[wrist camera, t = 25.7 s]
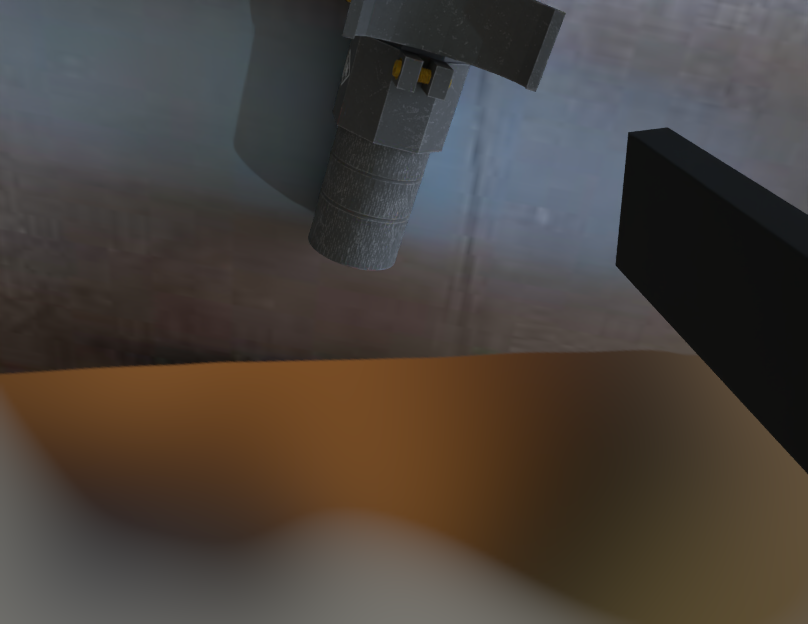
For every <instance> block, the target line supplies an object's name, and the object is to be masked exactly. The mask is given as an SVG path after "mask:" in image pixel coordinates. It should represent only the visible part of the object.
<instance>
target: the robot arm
mask: <svg viewBox="0 0 808 624" xmlns="http://www.w3.org/2000/svg"><path fill="white" fill-rule="evenodd" d="M616 266H617V267H618V268H619V270H620V271H621V272H622V273H623V274H624V275H625V276H626V277H627V278H628V279H629V280H630V282H631V283H632V284H633V285H634V286H635V287H636V288H637V289H638V290H639V291H640V292H641V293H642V295H643V296H644V297H645V298H646V299H647V300H648V301H649V302H650V303H651V304H652V305H653V306H654V308H655V309H656V310H657V311H658V312H659V313H660V314H661V315H662V316H663V317H664V318H665V320H666V321H667V322H668V323H669V324H670V325H671V326H672V327H673V328H674V329H675V330H676V331H677V333H678V334H679V335H680V336H681V337H682V338H683V339H684V340H685V341H686V342H687V343H688V344H689V346H690V347H691V348H692V349H693V350H694V351H695V352H696V353H697V354H698V355H699V356H700V357H701V359H702V360H703V361H704V362H705V363H706V364H707V365H708V366H709V367H710V368H711V369H712V370H713V372H714V373H715V374H716V375H717V376H718V377H719V378H720V379H721V380H722V381H723V382H724V383H725V385H726V386H727V387H728V388H729V389H730V390H731V391H732V392H733V393H734V394H735V395H736V396H737V398H738V399H739V400H740V401H741V402H742V403H743V404H744V405H745V406H746V407H747V409H748V410H749V411H750V412H751V413H752V414H753V415H754V416H755V417H756V418H757V419H758V420H759V421H760V423H761V424H762V425H763V426H764V427H765V428H766V429H767V430H768V431H769V432H770V433H771V435H772V436H773V437H774V438H775V439H776V440H777V441H778V442H779V443H780V444H781V445H782V446H783V448H784V449H785V450H786V451H787V452H788V453H789V454H790V455H791V456H792V457H793V458H794V460H795V461H796V462H797V463H798V464H799V465H800V466H801V467H802V468H803V469H804V470H805V471H806V472H807V474H808V215H807V214H805V213H804V212H802V211H801V210H799V209H797V208H796V207H794V206H793V205H791V204H789V203H788V202H786V201H785V200H783V199H781V198H780V197H778V196H777V195H775V194H773V193H772V192H770V191H769V190H767V189H765V188H764V187H762V186H761V185H759V184H757V183H756V182H754V181H753V180H751V179H749V178H748V177H746V176H745V175H743V174H741V173H740V172H738V171H737V170H735V169H733V168H732V167H730V166H729V165H727V164H725V163H724V162H722V161H721V160H719V159H717V158H716V157H714V156H713V155H711V154H709V153H708V152H706V151H705V150H703V149H701V148H700V147H698V146H697V145H695V144H693V143H692V142H690V141H689V140H687V139H685V138H684V137H682V136H681V135H679V134H677V133H676V132H674V131H673V130H671V129H669V128H660V129H651V130H643V131H635V132H628V142H627V153H626V163H625V173H624V183H623V194H622V204H621V214H620V225H619V235H618V245H617V256H616Z"/></svg>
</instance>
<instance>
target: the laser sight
mask: <svg viewBox="0 0 808 624" xmlns="http://www.w3.org/2000/svg"><path fill="white" fill-rule="evenodd" d="M346 1H348V2H351V3H350V7H349V11H348V15H347V19H346V23H345V26H344V30H343V34H342V36H344V37H347V38H351V42H350V46H349V50H348V54H347V58H346V62H345V66H344V69H343V73H342V77H341V81H340V85H339V89H338V92H337V96H336V100H335V104H334V108H333V115H334V118H335V121H336V123H337V125H338V128H337V132H336V136H335V140H334V143H333V146H332V150H331V153H330V159H329V162H328V166H327V170H326V173H325V177H324V180H323V183H322V188H321V191H320V195H319V200H318V204H317V207H316V211H315V215H314V219H313V222H312V226H311V229H310V233H309V236H308V240H309V243H310V244H311V246H312V247H313V248H314V249H315V250H316V251H317V252H319V253H320V254H321V255H323V256H325V257H326V258H328V259H330V260H332V261H335V262H337V263H340V264H342V265H345V266H349V267H353V268H357V269H363V270H384V269H387V268H390V267H391V266H393V265H394V263H395V260H396V256H397V253H398V250H399V247H400V244H401V241H402V237H403V234H404V231H405V228H406V226H407V223H408V220H409V217H410V214H411V211H412V208H413V204H414V201H415V198H416V195H417V192H418V189H419V186H420V183H421V181H422V177H423V174H424V170H425V167H426V164H427V161H428V158H429V155H430V153H431V152H439V151H442V148H443V145H444V142H445V139H446V136H447V133H448V130H449V127H450V124H451V121H452V118H453V115H454V112H455V109H456V106H457V103H458V100H459V97H460V94H461V91H462V88H463V85H464V82H465V79H466V76H467V73H468V70H469V67H470V65H473V66H476V67H478V68H481V69H484V70H487V71H489V72H492V73H495V74H497V75H500V76H502V77H505V78H507V79H509V80H511V81H514V82H516V83H518V84H520V85H522V86H524V87H526V89H528V90H531V91H534V92H536V90H537V88H538V85H539V82H540V80H541V77H542V74H543V72H544V69H545V66H546V64H547V61H548V59H549V56H550V53H551V51H552V48H553V45H554V43H555V40H556V37H557V35H558V32H559V30H560V27H561V24H562V22H563V19H564V16H565V14H566V13H565V12H562V11H560V10H557V9H555V8H553V7H550V6H548V5H545V4H543V3H540V2H538V1H536V0H346Z"/></svg>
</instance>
